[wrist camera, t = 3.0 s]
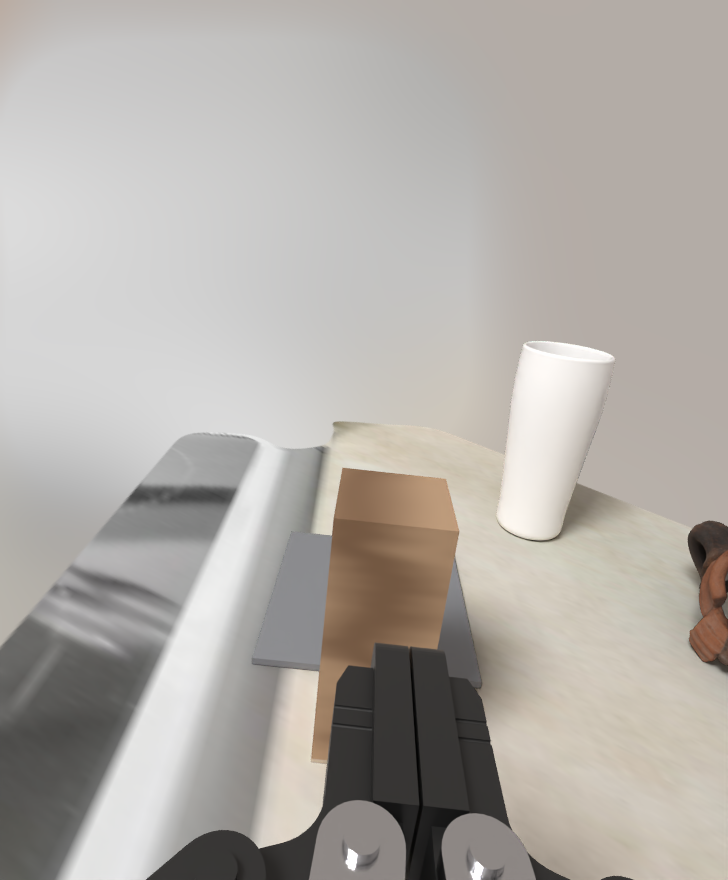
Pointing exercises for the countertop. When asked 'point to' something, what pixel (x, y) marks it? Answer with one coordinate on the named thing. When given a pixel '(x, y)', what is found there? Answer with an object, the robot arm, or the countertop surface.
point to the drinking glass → (550, 433)
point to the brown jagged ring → (711, 589)
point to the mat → (303, 610)
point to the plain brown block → (382, 576)
